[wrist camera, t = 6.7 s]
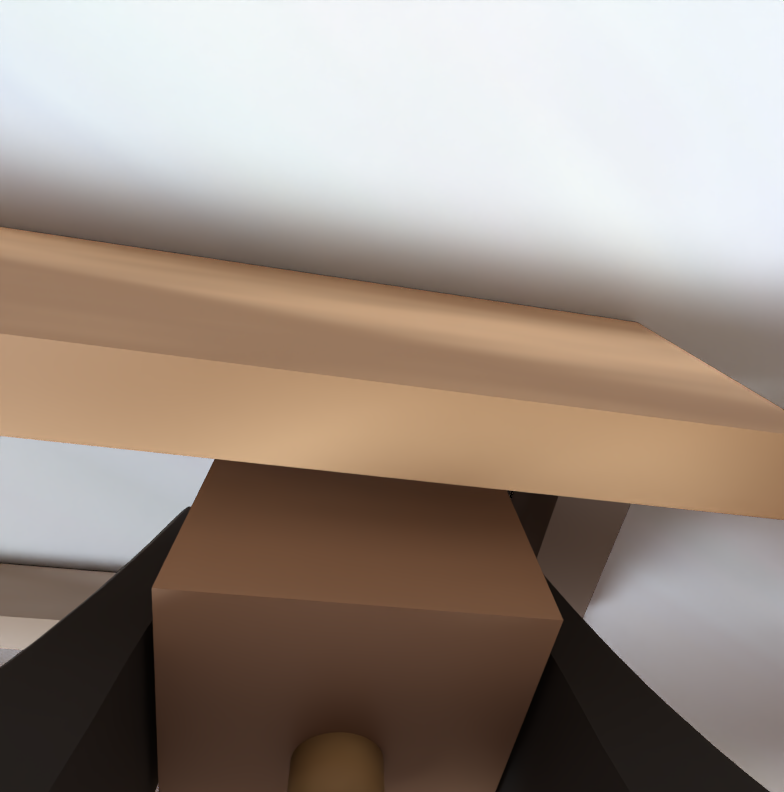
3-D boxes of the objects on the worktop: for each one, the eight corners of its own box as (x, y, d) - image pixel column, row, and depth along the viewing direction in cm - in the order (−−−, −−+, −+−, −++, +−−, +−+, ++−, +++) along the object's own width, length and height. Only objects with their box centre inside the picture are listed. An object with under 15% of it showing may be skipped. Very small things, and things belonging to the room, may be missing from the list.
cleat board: (524, 633, 14) (598, 850, 10) (-247, 575, 12) (-604, 819, 8) (636, 322, 11) (835, 440, 6) (-427, 162, 9) (-1289, 168, 4)
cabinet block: (421, 588, 14) (470, 939, 7) (245, 574, 13) (142, 938, 7) (466, 399, 11) (587, 675, 5) (257, 372, 11) (122, 645, 5)
